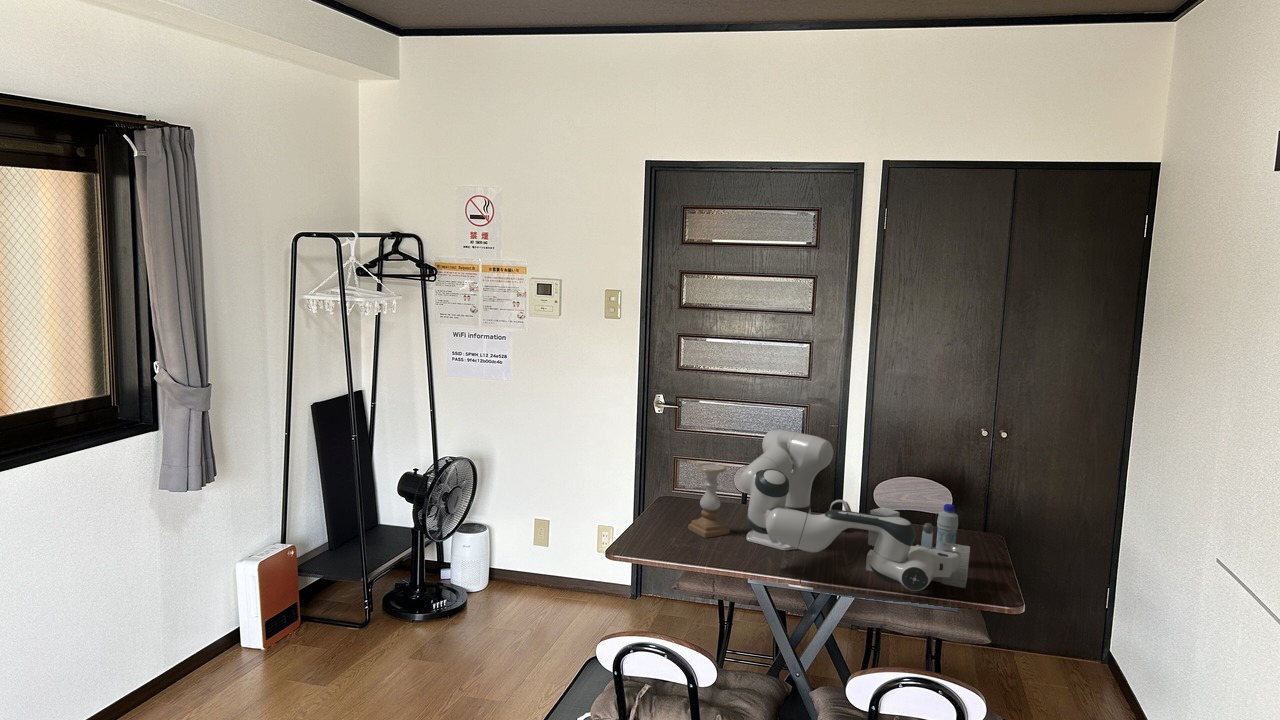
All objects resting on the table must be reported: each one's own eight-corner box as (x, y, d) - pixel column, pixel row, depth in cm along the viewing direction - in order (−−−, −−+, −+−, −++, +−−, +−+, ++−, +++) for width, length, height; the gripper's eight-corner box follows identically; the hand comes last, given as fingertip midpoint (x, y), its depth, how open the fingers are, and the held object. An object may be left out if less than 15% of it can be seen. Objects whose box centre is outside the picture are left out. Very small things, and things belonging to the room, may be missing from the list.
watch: (850, 533, 309) (852, 503, 308) (828, 530, 311) (830, 501, 310) (850, 528, 315) (852, 499, 313) (828, 525, 317) (830, 497, 315)
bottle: (937, 557, 288) (942, 500, 285) (957, 562, 283) (963, 504, 281) (930, 562, 282) (935, 504, 280) (950, 567, 278) (956, 508, 276)
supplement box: (880, 541, 302) (883, 506, 301) (897, 547, 296) (900, 512, 295) (866, 544, 298) (869, 509, 296) (884, 550, 292) (887, 515, 290)
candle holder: (704, 538, 297) (708, 471, 294) (687, 528, 306) (690, 464, 303) (730, 534, 303) (733, 468, 300) (712, 525, 312) (715, 461, 309)
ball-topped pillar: (912, 576, 267) (917, 524, 265) (915, 570, 272) (919, 519, 270) (939, 581, 264) (944, 528, 262) (941, 575, 269) (946, 523, 267)
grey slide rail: (865, 570, 273) (868, 535, 272) (870, 562, 280) (872, 528, 279) (965, 588, 261) (968, 553, 259) (966, 580, 268) (970, 545, 266)
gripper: (884, 565, 260) (891, 552, 272) (955, 578, 252) (959, 564, 264) (886, 545, 259) (893, 533, 272) (957, 558, 251) (961, 544, 263)
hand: (926, 548), depth 268 cm, fingers open, 3 cm apart
